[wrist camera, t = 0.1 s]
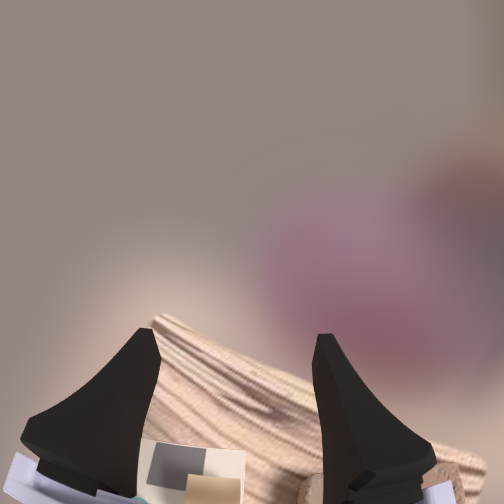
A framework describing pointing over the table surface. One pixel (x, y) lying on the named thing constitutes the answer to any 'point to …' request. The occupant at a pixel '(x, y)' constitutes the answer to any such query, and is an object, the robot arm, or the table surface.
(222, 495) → the beech block
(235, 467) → the plate
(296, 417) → the table surface
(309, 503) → the brick
